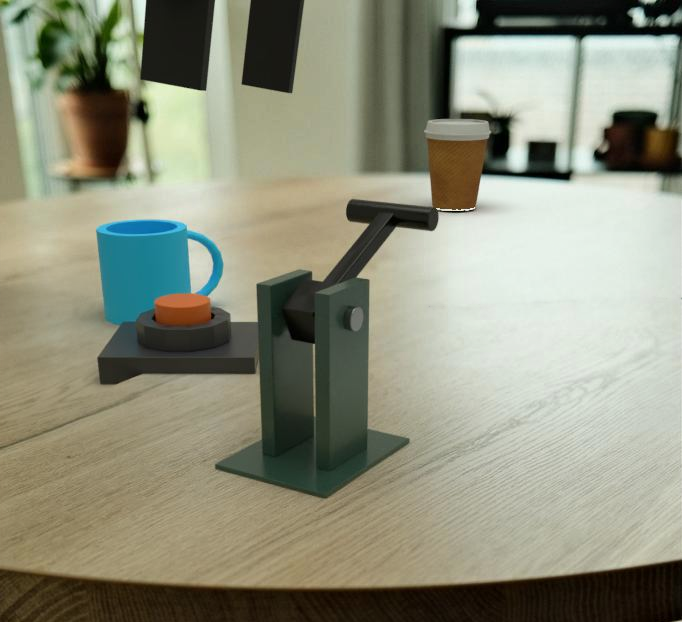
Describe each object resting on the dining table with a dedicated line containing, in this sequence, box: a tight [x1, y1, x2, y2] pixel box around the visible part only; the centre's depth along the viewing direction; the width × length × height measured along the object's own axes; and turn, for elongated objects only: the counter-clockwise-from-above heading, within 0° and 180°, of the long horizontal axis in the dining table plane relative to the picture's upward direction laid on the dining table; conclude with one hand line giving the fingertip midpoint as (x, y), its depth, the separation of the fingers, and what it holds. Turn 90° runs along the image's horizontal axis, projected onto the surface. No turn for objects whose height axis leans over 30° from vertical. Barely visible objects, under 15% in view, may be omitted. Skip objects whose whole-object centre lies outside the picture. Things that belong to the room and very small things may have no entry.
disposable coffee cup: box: [423, 118, 492, 210], centre depth 147 cm, size 10×10×12 cm
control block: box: [96, 306, 259, 385], centre depth 82 cm, size 12×10×4 cm
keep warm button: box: [154, 292, 212, 325], centre depth 81 cm, size 4×4×2 cm
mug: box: [95, 218, 224, 326], centre depth 95 cm, size 12×8×8 cm
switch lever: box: [281, 198, 440, 345], centre depth 62 cm, size 12×6×2 cm, turn 148°
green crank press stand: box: [214, 268, 410, 499], centre depth 61 cm, size 10×8×12 cm
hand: (225, 88), depth 49 cm, fingers open, 13 cm apart
